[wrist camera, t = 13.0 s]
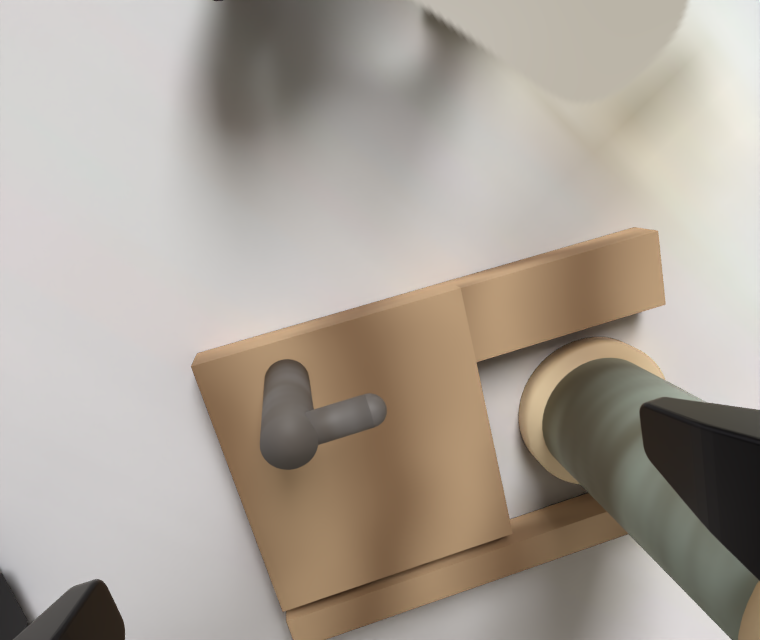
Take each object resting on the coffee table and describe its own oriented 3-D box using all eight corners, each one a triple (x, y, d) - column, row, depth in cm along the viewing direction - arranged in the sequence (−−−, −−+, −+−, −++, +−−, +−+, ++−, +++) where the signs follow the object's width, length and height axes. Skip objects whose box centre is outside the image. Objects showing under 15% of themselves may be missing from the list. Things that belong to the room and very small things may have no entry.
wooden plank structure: (295, 621, 25) (301, 772, 18) (197, 353, 21) (162, 428, 15) (664, 495, 26) (783, 593, 20) (633, 227, 23) (767, 246, 16)
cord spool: (568, 498, 25) (843, 805, 13) (490, 404, 24) (725, 658, 11) (678, 409, 25) (1061, 634, 13) (607, 306, 23) (978, 454, 11)
